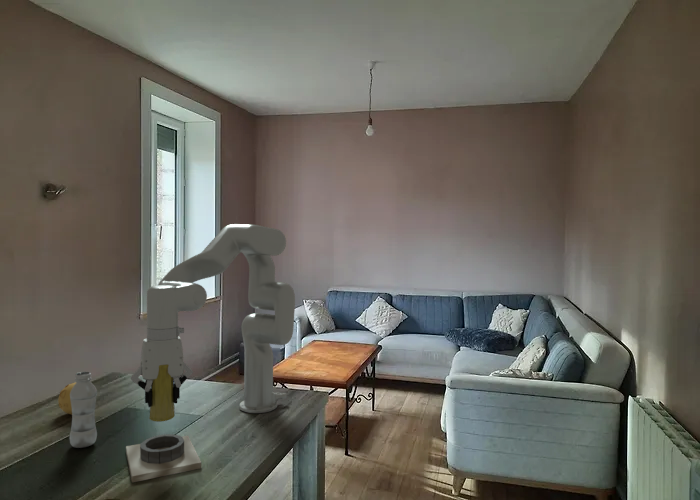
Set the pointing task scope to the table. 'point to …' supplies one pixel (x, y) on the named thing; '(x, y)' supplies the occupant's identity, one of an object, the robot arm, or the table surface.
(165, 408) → the vase
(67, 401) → the stress ball
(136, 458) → the plate
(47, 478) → the table surface
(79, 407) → the plastic bottle
